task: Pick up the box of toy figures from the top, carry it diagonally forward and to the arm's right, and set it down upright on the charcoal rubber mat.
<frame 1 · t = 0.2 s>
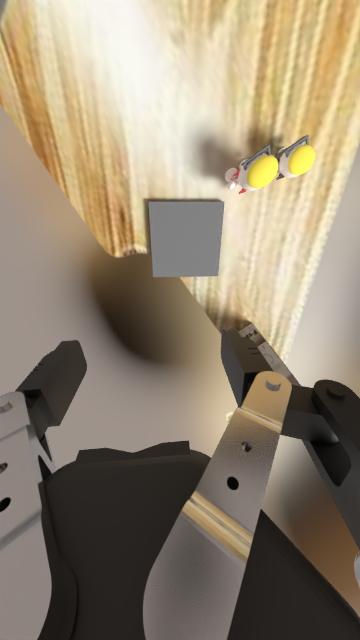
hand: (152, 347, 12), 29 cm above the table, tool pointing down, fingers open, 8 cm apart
coffee box: (249, 342, 47), on the table
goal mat: (185, 241, 36), on the table
toy figures: (256, 172, 32), on the table
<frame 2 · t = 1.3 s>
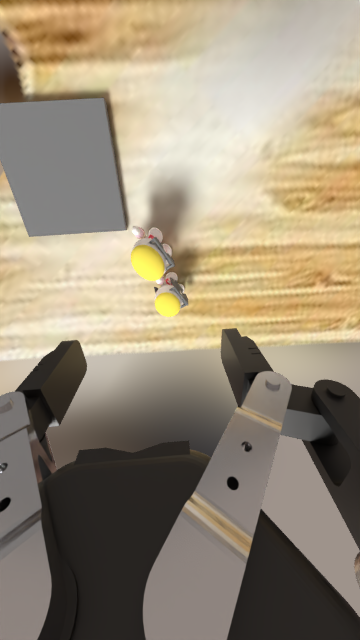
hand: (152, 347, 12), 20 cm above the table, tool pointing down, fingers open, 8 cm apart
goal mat: (65, 176, 24), on the table
toy figures: (161, 265, 30), on the table
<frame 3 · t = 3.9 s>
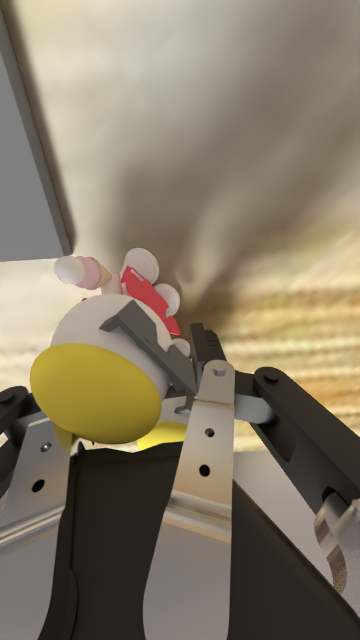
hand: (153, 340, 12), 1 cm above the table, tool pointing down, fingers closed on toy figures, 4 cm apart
toy figures: (156, 325, 14), on the table, touching gripper
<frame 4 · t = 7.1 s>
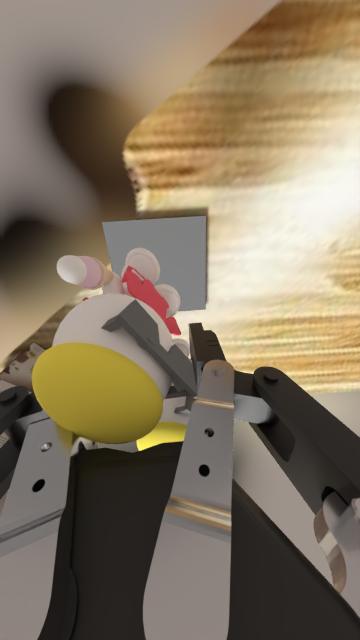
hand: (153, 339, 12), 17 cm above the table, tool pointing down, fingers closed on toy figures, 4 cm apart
coffee box: (36, 367, 34), on the table
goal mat: (159, 268, 28), on the table
toy figures: (156, 325, 14), point 16 cm above the table, touching gripper
when the fingers open (4 cm above the table, at t = 10.3 s): toy figures drops 1 cm, resting on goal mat.
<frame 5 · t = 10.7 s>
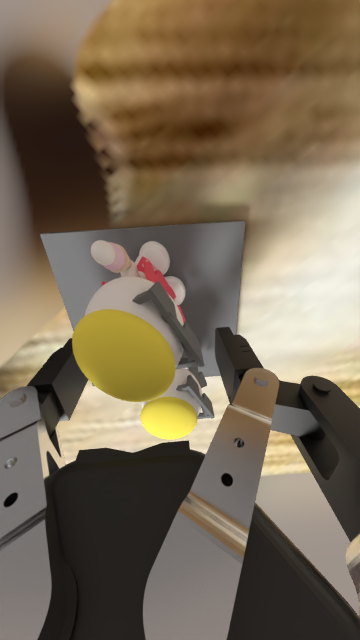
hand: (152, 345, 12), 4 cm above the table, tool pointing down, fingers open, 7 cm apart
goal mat: (156, 312, 16), on the table
toy figures: (161, 314, 15), point 1 cm above the table, touching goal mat
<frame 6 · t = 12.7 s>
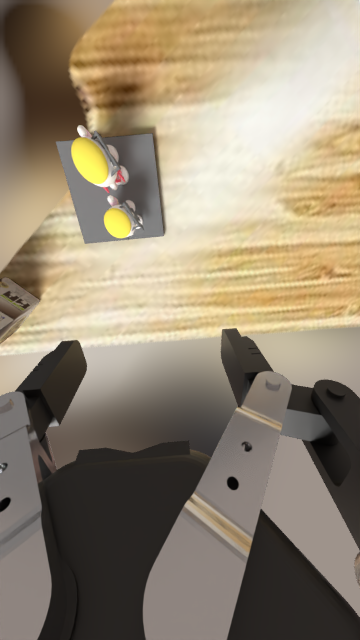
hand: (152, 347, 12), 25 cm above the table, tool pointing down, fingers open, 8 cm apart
coffee box: (11, 305, 36), on the table
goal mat: (116, 194, 29), on the table
toy figures: (118, 192, 29), point 1 cm above the table, touching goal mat
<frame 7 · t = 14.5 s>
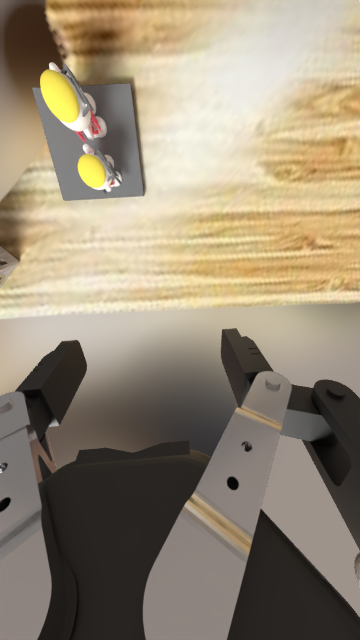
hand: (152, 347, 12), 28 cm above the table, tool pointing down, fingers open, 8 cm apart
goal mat: (95, 149, 29), on the table
toy figures: (96, 145, 28), point 1 cm above the table, touching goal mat
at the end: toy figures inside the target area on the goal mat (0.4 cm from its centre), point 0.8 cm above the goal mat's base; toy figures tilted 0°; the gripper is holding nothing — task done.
